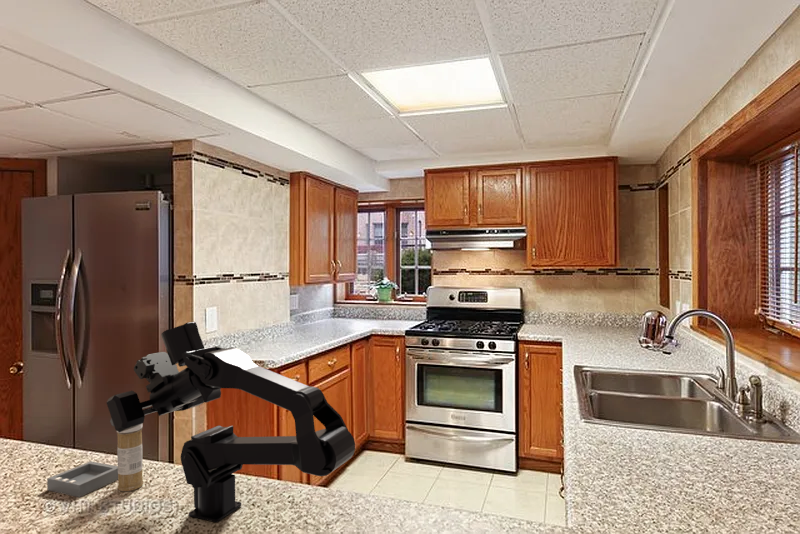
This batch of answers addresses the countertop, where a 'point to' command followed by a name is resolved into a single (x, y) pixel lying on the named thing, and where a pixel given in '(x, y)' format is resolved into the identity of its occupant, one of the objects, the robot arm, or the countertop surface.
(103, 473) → the dish
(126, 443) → the sprinkles bottle
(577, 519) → the countertop surface
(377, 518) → the countertop surface
